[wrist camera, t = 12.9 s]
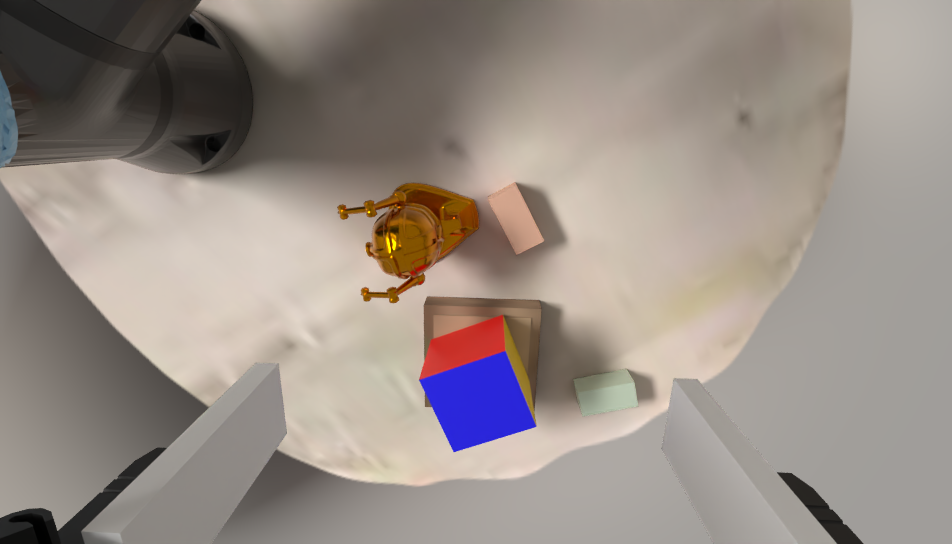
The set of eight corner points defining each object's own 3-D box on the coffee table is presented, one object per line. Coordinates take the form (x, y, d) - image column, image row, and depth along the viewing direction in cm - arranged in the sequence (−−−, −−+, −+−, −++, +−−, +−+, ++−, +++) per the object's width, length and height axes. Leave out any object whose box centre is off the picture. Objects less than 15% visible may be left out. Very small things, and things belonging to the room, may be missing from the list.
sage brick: (577, 400, 51) (582, 416, 48) (572, 378, 50) (577, 392, 47) (629, 391, 50) (638, 406, 48) (626, 368, 50) (634, 382, 47)
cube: (502, 314, 45) (505, 350, 37) (529, 379, 47) (536, 426, 40) (430, 339, 46) (419, 379, 39) (459, 402, 48) (453, 452, 41)
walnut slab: (428, 394, 51) (424, 407, 49) (427, 296, 48) (423, 305, 45) (532, 398, 51) (534, 411, 48) (539, 300, 47) (541, 309, 45)
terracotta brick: (541, 234, 45) (544, 241, 43) (514, 247, 46) (516, 255, 43) (515, 181, 44) (516, 185, 41) (488, 196, 44) (488, 200, 42)
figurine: (365, 191, 45) (321, 210, 33) (470, 171, 44) (462, 183, 32) (386, 271, 47) (352, 315, 36) (485, 253, 46) (484, 292, 35)
